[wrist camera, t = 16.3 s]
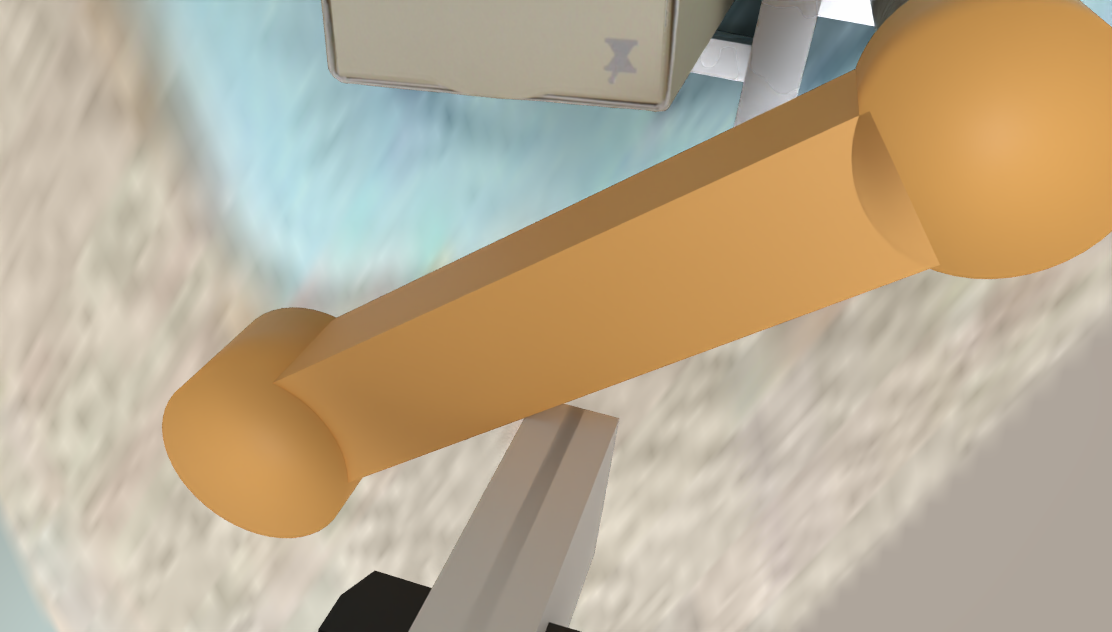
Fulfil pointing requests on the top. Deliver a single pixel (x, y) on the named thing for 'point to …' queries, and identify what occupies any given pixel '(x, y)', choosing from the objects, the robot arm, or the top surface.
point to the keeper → (680, 259)
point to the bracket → (780, 48)
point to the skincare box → (524, 47)
